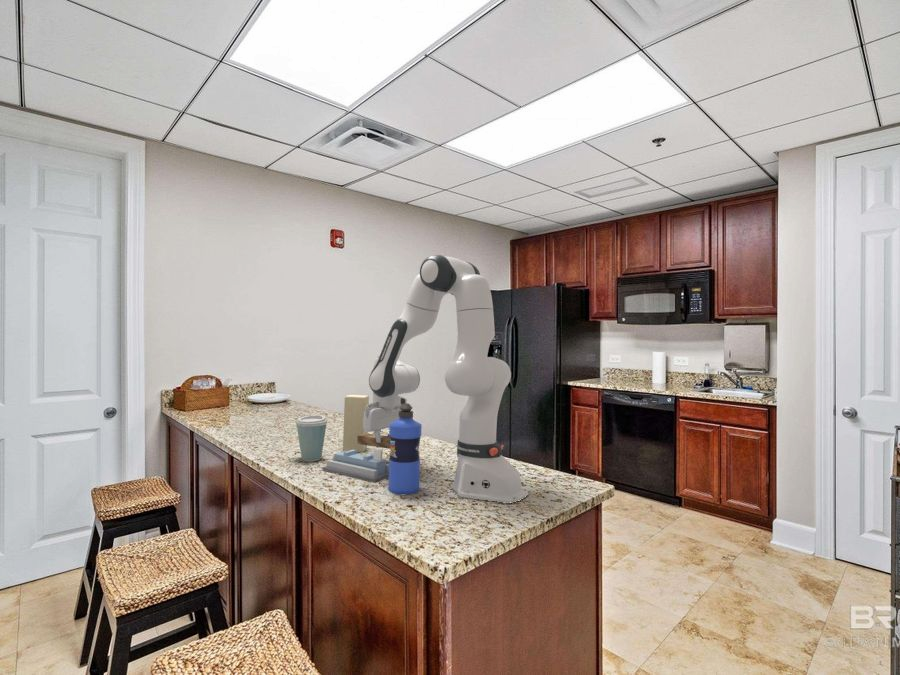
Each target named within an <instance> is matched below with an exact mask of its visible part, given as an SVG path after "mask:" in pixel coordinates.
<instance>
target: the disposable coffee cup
mask: <svg viewBox="0 0 900 675" xmlns="http://www.w3.org/2000/svg"><path fill="white" fill-rule="evenodd" d="M327 424H328V420H327V419H326V417H325V415H318V414H315V415H313V414H312V415H306V416H302V417H299V418H298V419H297V421H296V422H295V425H296V430H297V436H298V442H299V449H300V450H299V451H300V456H301V459H302V461H303V462H308V463H309V462H310V463H311V462H312V463H313V462H317V461H320V460H321V458H322V457H323V450H324V443H325V442H324V441H325V438H326V432H327V431H326V429H327Z"/></svg>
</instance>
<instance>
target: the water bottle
mask: <svg viewBox="0 0 900 675" xmlns="http://www.w3.org/2000/svg"><path fill="white" fill-rule="evenodd" d="M400 409H401V410H402V411H399V417H400V418H399V419H398V420H396V421H394V422H392V423H390V425H389V428H388V430H389V431H388V432H389V433H388V434H389V436H390V444H391V449H390V453H389V458H388V464H389V477H388V484H387V486H388V487H387V490H388V492H389V491H390V492H389V493H391V492H392V494H394V493H395V495H400V494H407V495H412V493H413V494H416V493H418V492H419V491H420V484H421V482H420V480H421V478H420V477H421V476H420V475H421V457H420V445H421V437H422V428H423V427H422V423H420V422H418V421H417V420H414V418H413V417H414V411H413V406H412V405H411V404H410V403H404V404H402V405H401V406H400Z"/></svg>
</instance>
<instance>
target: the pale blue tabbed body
mask: <svg viewBox="0 0 900 675" xmlns="http://www.w3.org/2000/svg"><path fill="white" fill-rule="evenodd" d="M332 460H333V461H338V462H342V463H347V464H352V465H356V466H361V467H365V468H370V469H375V470H378V472H377V475H379V474H382V473H384V472H386V464H387V460H386V459H385V458H383V449H382V448H380V449H379V448H377V447H375V448H373V452H371V453H369V454H366V455H364V454H360V453H357V452H356V450H349V451H343V450H342V451H339V452H336V453H334V455H333V457H332Z"/></svg>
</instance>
